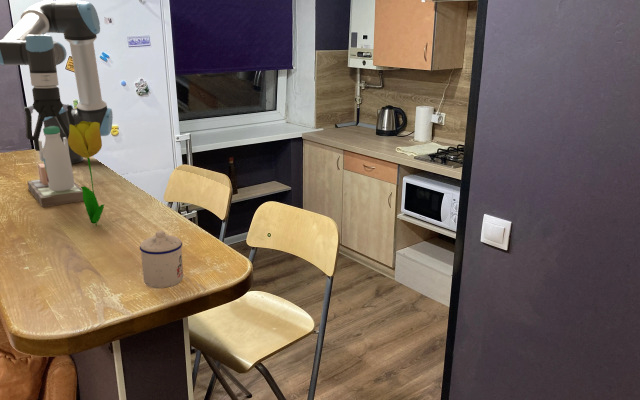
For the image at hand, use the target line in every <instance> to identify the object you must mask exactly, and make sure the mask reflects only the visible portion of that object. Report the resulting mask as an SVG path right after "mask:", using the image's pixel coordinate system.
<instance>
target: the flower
mask: <svg viewBox="0 0 640 400" xmlns="http://www.w3.org/2000/svg"><path fill="white" fill-rule="evenodd" d="M102 142H103V141H102V136H101V135H100V123H98V122H86V121H81V122H80V123H79V124H77V125H75V126H74V125H71V124H70V125H69V137H68V145H69V146H70V148H71V149H72V150H73V151H74V152H75V153H77V154H78V155H80V156H81V157H83V159H84V158H85V159H87V164H88V169H89V175H90V181H91V189H90V188H89V187H87V186H83V185H82V186H80V188H81V189H82V192H83V200H84V201H83V203H84V206H85V210H86V213H87V216H88V218H89V221H90V223H91V224H94V225H95V226H97V223H99V221H100V219H101V216H102V213H103V211H104V208H105V207H104V206H105V204H100V205H99V203H98V200H97V197H96V195H95V191H94V184H93V181H94V180H93V175H92V168H91V167H92V166H91V159H90V158H91V157H94V156H95V155H97V154H98V153H99V152H100V151H101V149H102V147H103V143H102Z"/></svg>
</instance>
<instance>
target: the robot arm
mask: <svg viewBox="0 0 640 400" xmlns="http://www.w3.org/2000/svg"><path fill="white" fill-rule="evenodd" d="M100 32H101V23H100V19H99V16H98V12H97V9H96V8H95V6H94V5H93V4H92V3H91V2H90V1H81V0H43V1H41V2H37V3H35V4H33V5H31V6H29V7H28V8H27V9H25V10H24V11H23V12H22V13H21V15H20V19H19V21H18V22H17V23H16V24H15V25H14V26H13V27H12V28H11V29H10V30H9V32H8V33H7V34H6V35H4V37H3V38H2V39H0V65H2V66H28V68H29V69H28V70H29V76H30V84H31V86H32V88H31V90H32V91H31V92H32V98H33V104H32V105H30V106H24V107H23V111H24V113H25V138H27V139H28V140H30V141H33V147H34V150H35V151H36V152H38V156H39V160H40V162H44V160H43V143H42V140H41V139H40V136H41V133H42V127H44V128H45V127H50V126H57V127H59V129H60V137H61V139H62V141H63V143H64V144H65V145H66V147H67V149H68V152H69V155H70V160H71V165H73V164H77V163H80V162H83V161H84V157H81V156H80V155H78V154H77V153H75V152H74V151H73V150H72V149H71V148H70V146H69V145H68V137H69V125H70V124H71V125H74V126H75V125H77V124H79V123H80V122H81V121H86V122H98V123H100V135H101V137H106V136H107V137H108V136H109V135H110V134H111V132H112V127H113V118H114V117H113V115H114V114H113V110H112V108H110V107H108V105H107V102H105V101H104V99H103V98H102V91H101V86H100V85H101V83H100V77H99V71H98V64H97V58H96V51H95V44H94V42H95V41H96V40H97V37H98V36H97V35H98V34H100ZM49 33H51V34H63V37H64V40H65V41H67V42H68V43H69V46H70V47H69V48H70V53H71V58H72V64H73V70H74V71H73V72H74V75H75V82H76V87H77V88H76V89H77V94H78V101H79V102H78V103H77V104H76V108H74V106H73V105H72V104H69V103H68V104H67V103H66V104H64V103H63V102H62V101H61V94H60V88H59V87H58V86H59V78H58V71H57V66H58V65H60V64H62V63H63V62H65V60H66V58H67V50H66V48H65V46H64V45H63V44H62V43H60V42H59V41H56V40H53V36H51V35H49ZM34 110H35V111H36V112H37V114H38V116H37V120H36V124H35V127H34V132H33V126H32V124H33V122H32V121H33V120H32V117H33V116H32V114H33V113H34ZM44 128H43V129H44Z"/></svg>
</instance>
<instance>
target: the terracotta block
mask: <svg viewBox="0 0 640 400" xmlns="http://www.w3.org/2000/svg"><path fill="white" fill-rule="evenodd" d="M37 169H38V175H39V180H40V181H41V182H42V184H43V185H47V184H48V181H47V176H46V171H45V166H44V163H37Z"/></svg>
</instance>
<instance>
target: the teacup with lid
mask: <svg viewBox="0 0 640 400" xmlns="http://www.w3.org/2000/svg"><path fill="white" fill-rule="evenodd" d="M182 247H183V242H182V240H181V238H179V237H177V236H174V235H169V234H167V233H166V232H165V231H163V230H158V231H155V235H152V236H150V237H148V238H146V239H144V240H142V241H141V243H140V245H139V250H140V253H141V263H142V264H141V265H142V275H143V283H144V284H145V285H146V286H147V287H150V288H154V289H155V288H156V289H164V288H170V287H174V286H176V285H178V284H180V283H181V282H182V280H183V278H184V266H183V256H182V255H183V250H182Z"/></svg>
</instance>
